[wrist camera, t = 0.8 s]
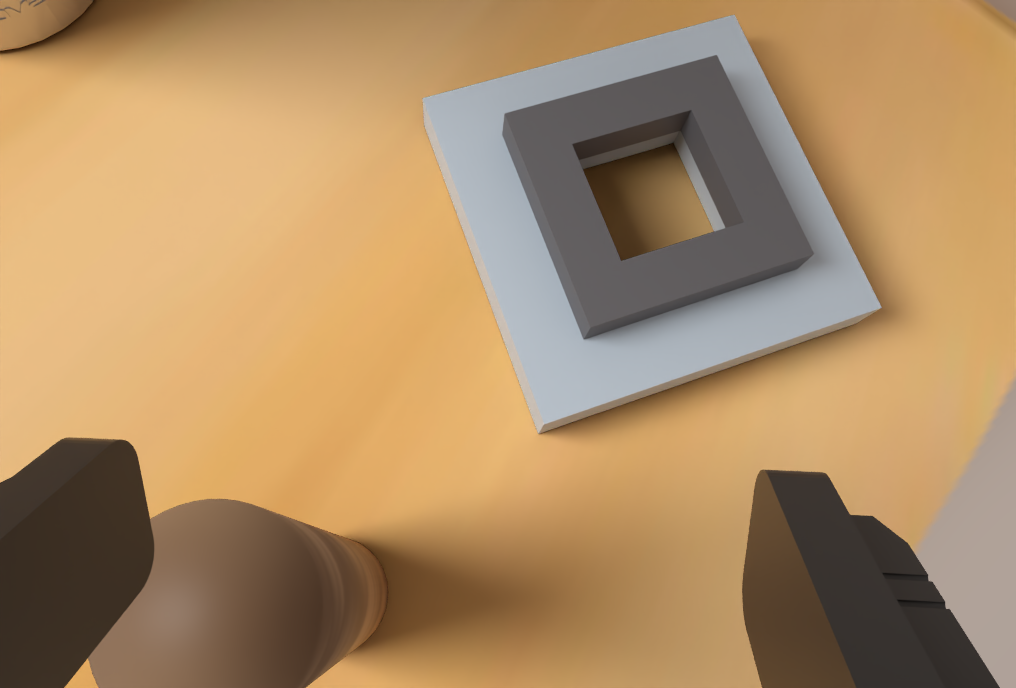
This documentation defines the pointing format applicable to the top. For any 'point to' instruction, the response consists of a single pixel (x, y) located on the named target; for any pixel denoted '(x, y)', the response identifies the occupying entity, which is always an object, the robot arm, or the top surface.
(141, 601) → the peg
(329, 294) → the top surface
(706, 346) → the socket
